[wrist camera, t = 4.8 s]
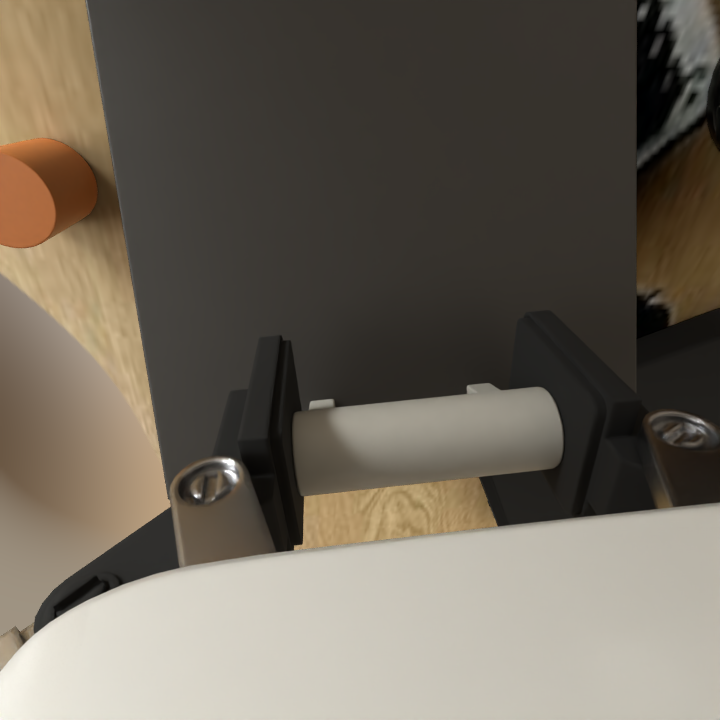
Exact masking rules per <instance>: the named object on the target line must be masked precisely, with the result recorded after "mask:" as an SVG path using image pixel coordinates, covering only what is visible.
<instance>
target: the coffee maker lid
mask: <svg viewBox="0 0 720 720" xmlns="http://www.w3.org/2000/svg"><path fill="white" fill-rule="evenodd" d="M85 2H86V8H87V14H88V20H89V26H90V32H91V38H92V44H93V50H94V56H95V62H96V68H97V74H98V80H99V86H100V92H101V98H102V104H103V110H104V116H105V122H106V128H107V134H108V140H109V146H110V152H111V158H112V164H113V170H114V176H115V182H116V188H117V194H118V200H119V206H120V212H121V218H122V224H123V230H124V236H125V242H126V248H127V254H128V260H129V266H130V272H131V278H132V284H133V290H134V297H135V303H136V309H137V315H138V321H139V327H140V333H141V339H142V345H143V351H144V357H145V363H146V369H147V375H148V381H149V387H150V393H151V399H152V405H153V411H154V417H155V423H156V429H157V435H158V441H159V447H160V453H161V459H162V465H163V471H164V477H165V483H166V489H167V494H168V499H169V500H170V496H169V493H170V485H171V484H172V482H173V480H174V478H175V477H176V476H177V474H178V473H179V472H180V471H181V470H182V469H184V468H185V467H187V466H188V465H190V464H191V463H193V462H195V461H197V460H200V459H202V458H205V457H210V456H212V454H213V451H214V447H215V443H216V440H217V436H218V432H219V428H220V425H221V421H222V417H223V414H224V410H225V406H226V402H227V399H228V395H229V393H230V391H232V390H241V389H248V387H249V382H250V377H251V373H252V368H253V363H254V358H255V354H256V349H257V344H258V340H259V337H267V336H277V335H282V338H283V341H284V340H291V344H292V350H293V356H294V363H295V369H296V375H297V382H298V388H299V395H300V401H301V408H302V411H298V412H295V413H294V414H293V418H292V453H293V464H294V473H295V479H296V485H297V489H298V492H299V494H300V495H301V496H311V495H320V494H329V493H338V492H347V491H356V490H365V489H374V488H383V487H392V486H401V485H410V484H419V483H428V482H437V481H446V480H455V479H464V478H473V477H483V476H492V475H501V474H510V473H519V472H528V471H537V470H546V469H553V468H555V467H557V466H558V465H559V463H560V462H561V460H562V456H563V452H564V431H563V424H562V420H561V416H560V413H559V410H558V407H557V405H556V402H555V401H554V399H553V397H552V396H551V394H550V393H549V392H548V391H547V390H546V389H544V388H541V387H530V388H521V389H511V390H509V383H510V374H511V366H512V358H513V349H514V341H515V333H516V325H517V321H518V319H519V318H523V317H524V315H525V313H526V312H533V311H544V310H550V311H552V312H553V313H554V314H555V315H556V316H557V317H558V318H559V319H560V320H561V321H562V322H563V323H564V324H565V325H566V326H567V327H568V328H569V329H570V330H571V331H572V332H573V333H574V334H576V335H577V336H578V337H579V338H580V339H581V340H582V341H583V342H584V343H585V344H586V345H587V346H588V347H589V348H590V349H591V350H592V351H593V352H594V353H595V354H596V355H597V356H598V357H599V358H600V359H601V360H602V361H603V362H604V363H605V364H606V365H607V366H608V367H610V368H611V369H612V370H613V371H614V372H615V373H616V374H617V375H618V376H619V377H620V378H621V379H622V380H623V381H624V382H625V383H626V384H627V385H628V386H629V387H630V388H631V389H632V390H633V391H634V392H635V393H636V245H637V0H85Z"/></svg>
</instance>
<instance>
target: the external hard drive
mask: <svg viewBox="0 0 720 720" xmlns="http://www.w3.org/2000/svg"><path fill="white" fill-rule="evenodd" d="M636 394H637V395H638V396H639V397H640V398H641V399H642V403H641V404H642V405H643V406H644V407H645V408H646V409H647V410H648V411H649V412H651V411H654V410H659V409H676V410H682V411H687V412H690V413H693V414H697V415H699V416H702V417H704V418H706V419H708V420H710V421H712V422H713V423H714V424H716V425H717V426H719V427H720V308H719V309H716V310H714V311H711V312H708V313H706V314H703V315H700V316H697V317H695V318H692V319H689V320H687V321H684V322H681V323H679V324H676V325H673V326H671V327H668V328H665V329H663V330H660V331H657V332H654V333H652V334H649V335H646V336H644V337H641V338H638V339H636ZM479 478H480V481H481V484H482V486H483V489H484V491H485V494H486V497H487V499H488V503H489V506H490V507H491V510H492V512H493V515H494V518H495V520H496V523H497V525H498V527H499V526H507V525H516V524H525V523H534V522H543V521H552V520H561V519H570V518H574V517H573V515H572V514H566V513H565V512H564V510H563V509H562V507H561V505H560V504H559V502H558V500H557V499H556V497H555V495H554V493H553V492H552V490H551V488H550V486H549V485H548V483H547V481H546V480H545V478H544V476H543V474H542V473H541V471H540V470H537V471H528V472H519V473H510V474H501V475H492V476H483V477H479Z"/></svg>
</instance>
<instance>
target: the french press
mask: <svg viewBox="0 0 720 720" xmlns="http://www.w3.org/2000/svg"><path fill="white" fill-rule="evenodd" d="M707 122H708V127H709V131H710V134H711V137H712V139H713V141H714V143H715V144H716V146H717V147H718V149H719V150H720V59H719V61H718V63H717V66H716V68H715V70H714V73H713V76H712V80H711V84H710V87H709V91H708V100H707Z"/></svg>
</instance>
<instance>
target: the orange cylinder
mask: <svg viewBox="0 0 720 720" xmlns="http://www.w3.org/2000/svg"><path fill="white" fill-rule="evenodd" d="M97 195H98V189H97V183H96V179H95V177H94V174H93V172H92V170H91V168H90V167H89V165H88V164H87V162H86V161H85V160H84V159H83V158H82V157H81V156H80V155H79V154H78V153H77V152H76V151H75V150H73V149H72V148H70V147H69V146H67V145H65V144H63V143H61V142H58V141H56V140H52V139H46V138H37V139H31V140H26V141H21V142H17V143H12V144H7V145H2V146H0V244H1V245H4V246H8V247H13V248H29V247H34V246H37V245H39V244H41V243H43V242H45V241H46V240H48V239H50V238H51V237H53V236H55V235H56V234H58V233H60V232H61V231H63V230H65V229H66V228H68V227H70V226H71V225H73V224H75V223H76V222H78V221H80V220H81V219H83V218H84V217H86V216H87V215H88V214H89V213H90V212H91V211H92V210H93V208H94V206H95V204H96V201H97Z"/></svg>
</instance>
